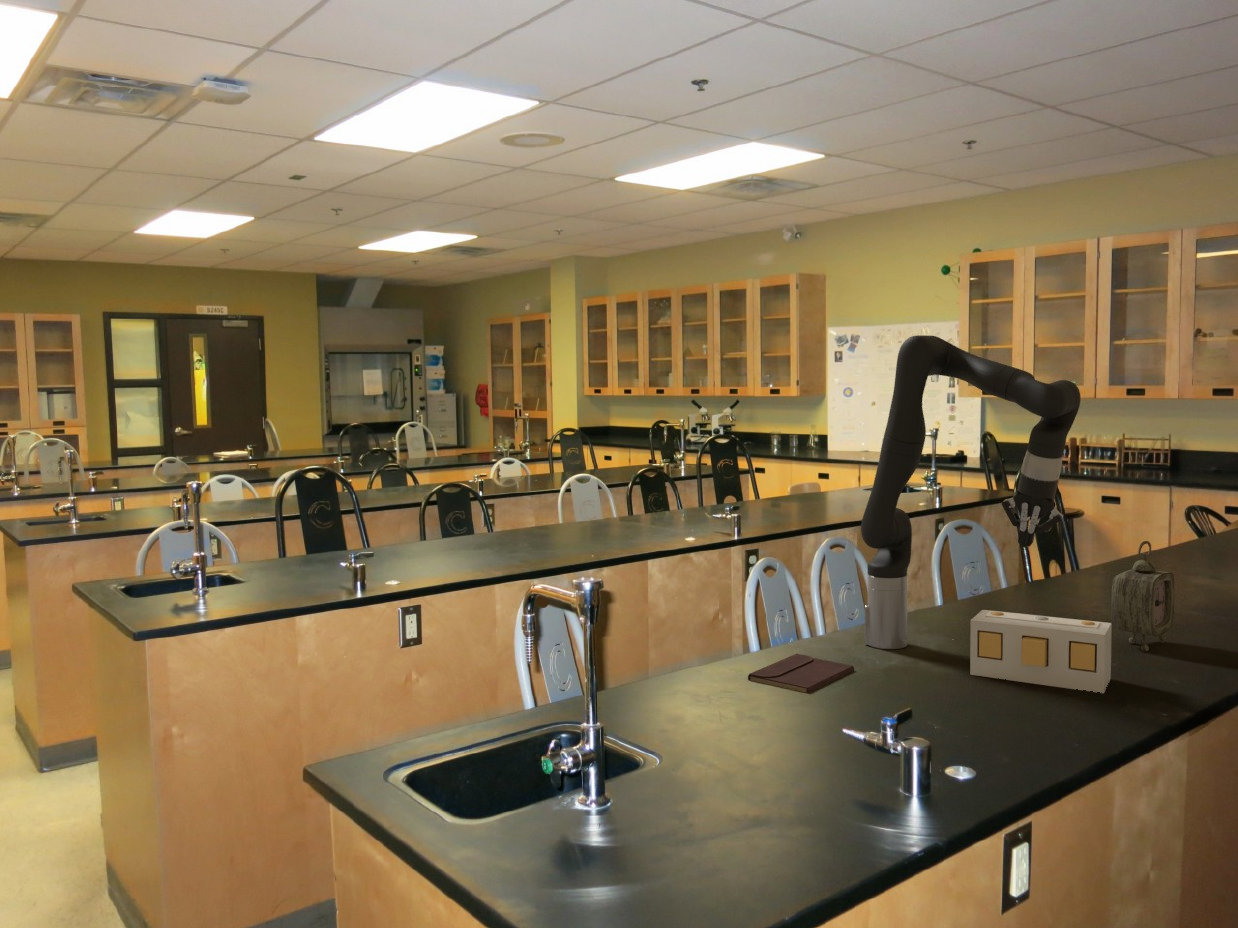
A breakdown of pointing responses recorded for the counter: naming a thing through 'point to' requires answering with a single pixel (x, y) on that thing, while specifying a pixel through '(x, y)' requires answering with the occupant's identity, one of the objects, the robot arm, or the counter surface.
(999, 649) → the button
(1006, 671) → the button console
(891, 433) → the robot arm
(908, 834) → the counter surface
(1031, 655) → the middle button
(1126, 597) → the tabletop clock
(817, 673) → the notebook
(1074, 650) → the button
